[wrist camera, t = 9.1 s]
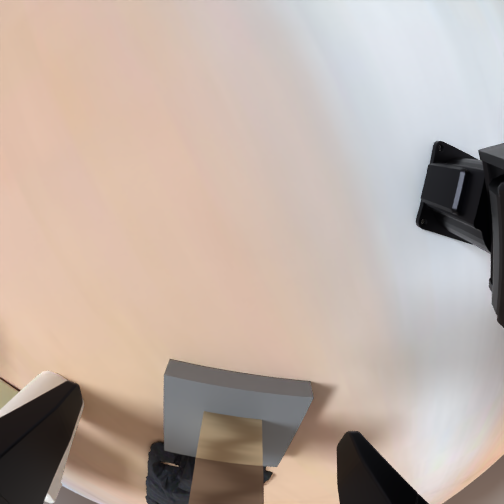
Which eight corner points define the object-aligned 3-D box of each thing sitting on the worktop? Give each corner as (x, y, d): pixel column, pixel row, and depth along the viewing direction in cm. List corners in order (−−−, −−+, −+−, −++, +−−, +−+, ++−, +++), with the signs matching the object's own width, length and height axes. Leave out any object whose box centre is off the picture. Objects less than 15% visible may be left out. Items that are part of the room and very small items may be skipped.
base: (310, 381, 24) (313, 397, 22) (276, 453, 27) (277, 466, 26) (169, 359, 23) (164, 374, 21) (167, 436, 27) (164, 450, 25)
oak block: (262, 419, 23) (262, 466, 18) (250, 448, 24) (250, 490, 20) (203, 411, 22) (195, 457, 18) (199, 441, 24) (192, 482, 19)
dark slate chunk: (134, 488, 34) (128, 510, 29) (156, 430, 27) (146, 463, 23) (222, 512, 36) (220, 533, 31) (281, 462, 29) (283, 494, 25)
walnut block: (263, 466, 18) (263, 521, 13) (250, 490, 20) (249, 536, 15) (196, 457, 18) (187, 512, 13) (193, 482, 19) (185, 529, 15)
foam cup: (97, 429, 27) (62, 512, 15) (36, 398, 27) (-9, 468, 14) (94, 381, 25) (39, 481, 12) (24, 346, 24) (-41, 422, 11)
